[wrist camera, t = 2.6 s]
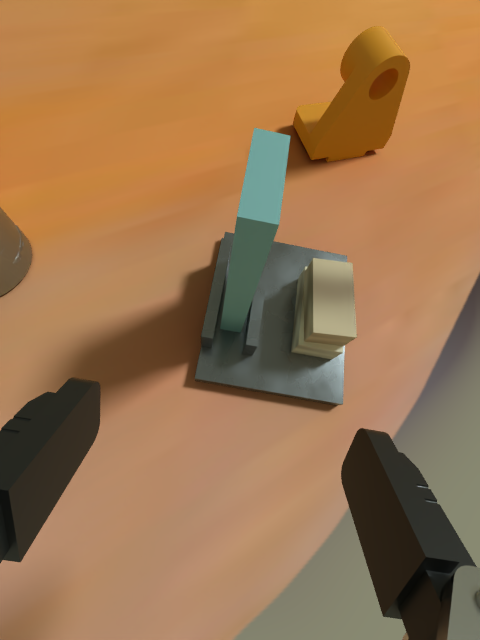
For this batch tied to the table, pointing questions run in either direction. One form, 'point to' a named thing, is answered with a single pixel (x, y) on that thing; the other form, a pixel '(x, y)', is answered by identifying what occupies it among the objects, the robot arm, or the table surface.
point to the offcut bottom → (298, 331)
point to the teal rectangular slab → (255, 223)
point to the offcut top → (329, 302)
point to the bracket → (357, 101)
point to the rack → (267, 333)
